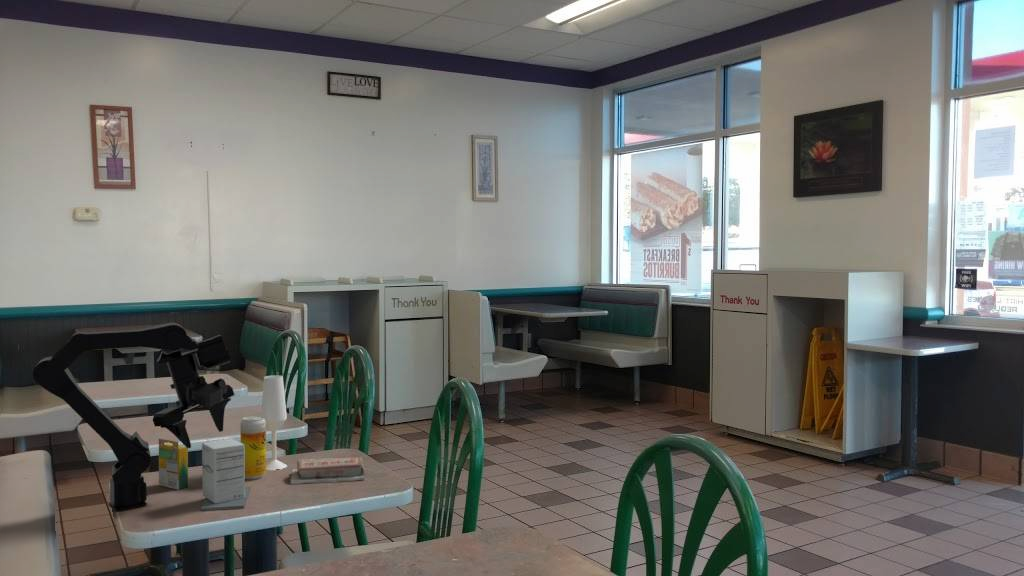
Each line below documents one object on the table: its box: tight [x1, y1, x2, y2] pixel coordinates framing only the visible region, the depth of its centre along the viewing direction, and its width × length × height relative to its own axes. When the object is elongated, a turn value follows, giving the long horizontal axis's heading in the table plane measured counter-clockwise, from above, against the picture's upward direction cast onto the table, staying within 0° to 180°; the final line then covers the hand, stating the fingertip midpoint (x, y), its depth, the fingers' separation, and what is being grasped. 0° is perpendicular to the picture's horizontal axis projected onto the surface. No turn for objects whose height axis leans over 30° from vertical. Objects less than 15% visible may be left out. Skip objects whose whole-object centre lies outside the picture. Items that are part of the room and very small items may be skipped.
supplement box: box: [201, 438, 246, 504], centre depth 182 cm, size 7×7×13 cm
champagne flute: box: [260, 374, 288, 471], centre depth 209 cm, size 7×7×24 cm
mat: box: [200, 486, 251, 512], centre depth 182 cm, size 9×14×1 cm, turn 13°
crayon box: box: [158, 438, 189, 491], centre depth 192 cm, size 7×3×12 cm, turn 61°
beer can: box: [239, 415, 267, 480], centre depth 200 cm, size 6×6×15 cm
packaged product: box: [290, 456, 365, 485], centre depth 201 cm, size 18×5×10 cm
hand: (205, 439), depth 184 cm, fingers open, 9 cm apart
